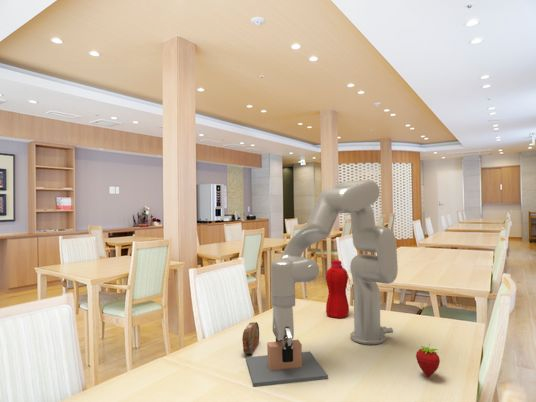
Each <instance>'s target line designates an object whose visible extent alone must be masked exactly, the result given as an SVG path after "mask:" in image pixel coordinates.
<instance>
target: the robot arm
mask: <svg viewBox="0 0 536 402" xmlns="http://www.w3.org/2000/svg"><path fill="white" fill-rule="evenodd" d="M380 192H381V191H380V187H379V185H378V183H377V182H375V180H370V179H363V180H360V179H359V180H348V181H342V182H340V183H338V184H336V186H335V188H327V189H324V190H322V191H321V192H320V193H319V195H318V197H317V200H316V201H315V204H314V206H313V208H312V211H311V214H310V215H309V217H308V219H307V222H306V224H305V226H303V227H302V228H301V229H300V230H299V231H298V232H297V233H296V234H295V235H293V237H291V238H290V239H289V241H288V242H287V243H286V245H285V247H284V250H283V251H282V254H281V256H280V259H277V260H273V261H272V262H271V263H270V300H271V301H270V302H271V303H270V305H271V307H273V308H272V333H273V335H274V337H275V342H277V341H282V343H283V349H282V361H283V362H293V344H292V340H294V336H295V335H294V333H295V332H294V330H295V329H294V327H295V326H294V324H295V323H294V311H293V310H294V309H293V308H294V307H295V306H296V283H310V282H313V281H314V280H315V279H317V278H318V276H319V273H320V267H319V264H318V263H317V262H316V261H315V260H314V259H312V258H307V257H303V256H302V255H303V253H304V252H305V251H306V250H307V249H308V248H309V247H310V246H312V245H314V244H316V243H318V242H319V243H320V241H322V240H325V239H326V238H327V239H328V237H329V236H330V234H331V232H332V229H333V227H334V225H335V222H336V220H337V217H338V215H340V214H349V215H350V222H351V237H352V244H353V248H355V249H356V250H358V251H362V252H367V253H361V254H357V255H355V256H354V257H353V258H352V259H351V261H350V265H349V266H350V267H349V268H350V274H351V278H352V285H353V322H354V323H353V325H354V326H353V327H354V331H352V332H351V333H350V336H349V337H350V339H351V340H352V341H353V342H354V343H358V344H362V345H379V344H382V343H384V342H385V341H386V336H385V335H386V334H393V333H394V329H393V327H387V326H382V325H381V291H380V288H379V285H378V284H379V283H380V284H385V285H386V284H387V285H389V284H393V283H395V280H396V279H397V276H398V270H399V269H398V267H399V266H398V254H397V253H398V252H397V241H396V240H397V239H396V236H395V233H394V232H393V231H392V229H391V228H389V227H386V226H380V225H379V226H378V225H376V221H375V212H374V210H373V207H372V205H374V204H375V203H376V202H377V201H378V199H379V197H380V194H381V193H380ZM368 253H376V254H375V255H374V254H368ZM377 283H378V284H377ZM285 341H287V342H286V344H285Z"/></svg>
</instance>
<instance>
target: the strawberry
mask: <svg viewBox="0 0 536 402" xmlns="http://www.w3.org/2000/svg"><path fill="white" fill-rule="evenodd" d="M430 345H431V343H429V345H428V346H422V345H421V348H419V349H418V350H417V351H416V353H415V358H416V363H417V364H418V366H419V368H420V370H421V371H422V372H423V374H424V376H426V377H427V378H430V377H431V376H432V375H433V374H434V373H435V372H436V371H437V370H438V369H439V368H440V362H441V359H440V356H439V355H438V352H437V351H438V350H439V349H437V348H430Z"/></svg>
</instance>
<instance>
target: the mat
mask: <svg viewBox="0 0 536 402" xmlns="http://www.w3.org/2000/svg"><path fill="white" fill-rule="evenodd" d="M245 362H246V366H247V369H248V372H249V376H250V380H251V382H252V387H262V386H263V387H264V386H273V385H274V386H275V385H282V384H291V383H299V382H309V381H319V380H329V377H328V376H329V375H328V373H326V371H325V370H324V368H323V367H322V365H321V364H320V363H319V361H318V360H317V358H316V357H315V356H314V354H313V353H312V352H311V350H309V351H302V367H297V368H287V369H277V370H270V369H269V366H268V354H267V355H256V356H246V357H245Z"/></svg>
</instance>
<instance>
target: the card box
mask: <svg viewBox="0 0 536 402" xmlns="http://www.w3.org/2000/svg"><path fill="white" fill-rule="evenodd" d="M286 342H287V341H285V344H286ZM292 344H293V362H283V361H282V349H283V343H282V341H277V342H276V341H269V342H268V341H267V345H266V346H267V348H266V349H267V355H268V366H269V369H270V370H277V369H287V368H297V367H302V352H303V348H302V345H303V344H302V343H301V341H300V340H299V339H292Z"/></svg>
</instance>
